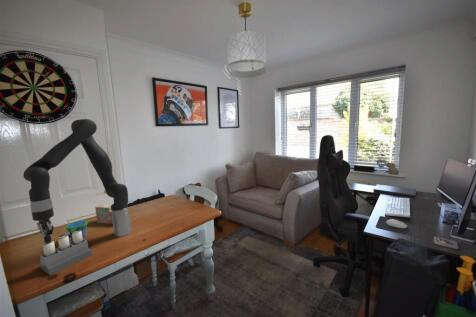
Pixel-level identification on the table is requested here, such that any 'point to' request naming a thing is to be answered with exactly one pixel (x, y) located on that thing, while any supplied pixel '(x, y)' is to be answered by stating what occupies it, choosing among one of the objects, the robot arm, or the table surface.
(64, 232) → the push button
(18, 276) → the table surface
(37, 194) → the robot arm
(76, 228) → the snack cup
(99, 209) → the cereal box
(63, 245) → the knob mid
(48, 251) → the knob
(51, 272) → the grey compartment box
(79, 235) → the knob
